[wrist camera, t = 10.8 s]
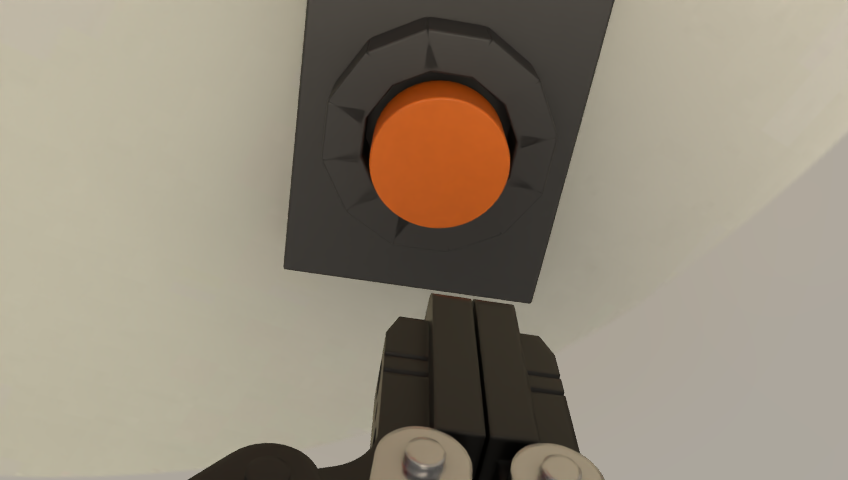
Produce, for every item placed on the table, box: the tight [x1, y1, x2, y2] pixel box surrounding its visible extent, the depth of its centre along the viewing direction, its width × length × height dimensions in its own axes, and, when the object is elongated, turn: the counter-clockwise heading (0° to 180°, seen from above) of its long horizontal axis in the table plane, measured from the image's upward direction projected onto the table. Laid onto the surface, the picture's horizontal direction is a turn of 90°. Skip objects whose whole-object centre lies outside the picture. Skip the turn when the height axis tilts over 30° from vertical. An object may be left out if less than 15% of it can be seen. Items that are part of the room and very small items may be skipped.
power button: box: [369, 80, 510, 228], centre depth 22 cm, size 4×4×2 cm
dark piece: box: [284, 0, 614, 304], centre depth 24 cm, size 12×9×4 cm
